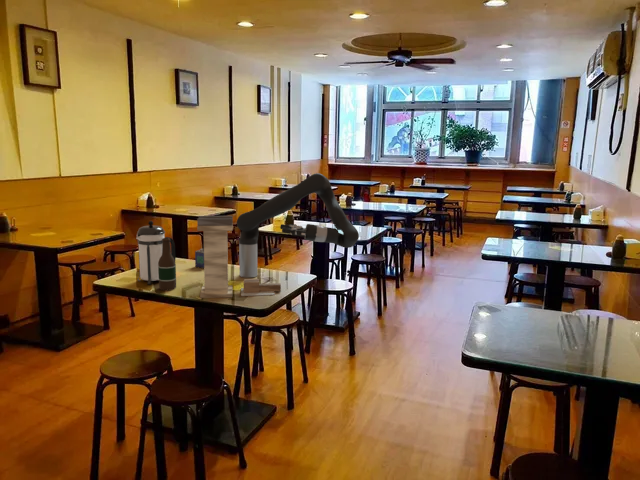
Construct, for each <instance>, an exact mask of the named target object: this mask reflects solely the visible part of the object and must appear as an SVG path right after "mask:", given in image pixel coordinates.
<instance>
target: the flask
mask: <svg viewBox="0 0 640 480" xmlns="http://www.w3.org/2000/svg"><path fill="white" fill-rule="evenodd" d="M194 260H195V261H194V263H195V265H194V267H195V268H197V267H199V268H198V269H204V248H199V249H198V250H195V251H194Z"/></svg>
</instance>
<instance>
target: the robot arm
mask: <svg viewBox="0 0 640 480" xmlns="http://www.w3.org/2000/svg"><path fill="white" fill-rule="evenodd" d="M314 193H315V194H316V195H318V196H319V198H320V199H321V200H322V202H323V204H324V205H325V207H326V210H327V213H328V216H329V218H330V220H331V223H332V224H333V226H334V227H329V226H324V225H318V224H311V223H307V224H306V225H305V227H303V226H302V225H296V224H291V223H290V224H283V223H281V224H280V226H279V227H280V230H281V233H282V234H290V235H291V236H293V237H294V236H296V237H303V238H304V240H305V241H311V242H316V243H317V242H318V243H329V244H334V245H336V246H339V247H341V248H346V249H348V248H349V249H350V248H353V247H354V246H355V244H357V242H358V240H359V237H360V236H359V235H360V234H359V231H358V229H357V228H356V227H355V225H353V224H352V223H351V222H350V221H349V220H348V219H349V218H348V217H347V216H346V213H345V212H344V210H343V208H342V207H341V205H340V203H339V202H338V200H337V198H336V196H335V193H334V190H333V188H332V185H331V183H330V180H329V179H328V178H327V177H326V176H325V175H324V174H322V173H319V172H317V173H314V174H311V175H310V176H308V177H306V179H304V180H301V182H299V183H297V184H296V185H294V186H292V187H290V188H289V189H287V190H285V191H282V192H281V193H279V194H277V195H275V196H273V197H271V198H270V199H268V200H266V202H264V203H262V204H261V205H260V206H258V207H256V208H254V209H251V210H250V211H247V212H244V213H242V214H241V213H240V215H239V216H238V218H237V220H236V227H237V228H238V229H239V230H241V232H240V236H239V237H238V238H239V239H238V240H239V241H238V242H239V243H238V248H239V253H238V254H239V255H238V256H239V257H238V258H239V264H238V265H239V277H241V278H244V279H252V278H255V277H257V276H258V240H259V232H260V231H259V230H260V224H261V223H263V222H265V221H266V220H269V219H273V218H275V217H278V216H280V215H282V214H285V212H288V211H290V210H291V209H293V208H294V207H295V206H296V205H297V204H298V203H299V202H300V201H301V200H302V199H303V198H305V197H307V196H308V195H311V194H314ZM339 231H341V232H342V233H341V232H339Z"/></svg>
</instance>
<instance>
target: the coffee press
mask: <svg viewBox="0 0 640 480" xmlns="http://www.w3.org/2000/svg"><path fill="white" fill-rule="evenodd" d="M136 232H137V233H136V237H135V239H136V240H137V245H138V246H137V247H138V264H139V265H138V266H139V276H138V278H137V282H141V281H142V280H143V281H147V285H149V286H150V285H152V283H153V282H154V281H159V273H158V262H159V259H160V257H161V256H162V242H163V241H162V239H163V238H170V249H171V255H172V256H173V258H174V260H175V261H176V256H177V255H176V244H175V240H174V239H173V238H172V237H168V236H165V234H166V231H165V229H164V228H163V227H162V226H160V225H154V221H153V220H150V221H148V225H144V226H141V227H139V228H138V231H136ZM139 278H140V280H139Z"/></svg>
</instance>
